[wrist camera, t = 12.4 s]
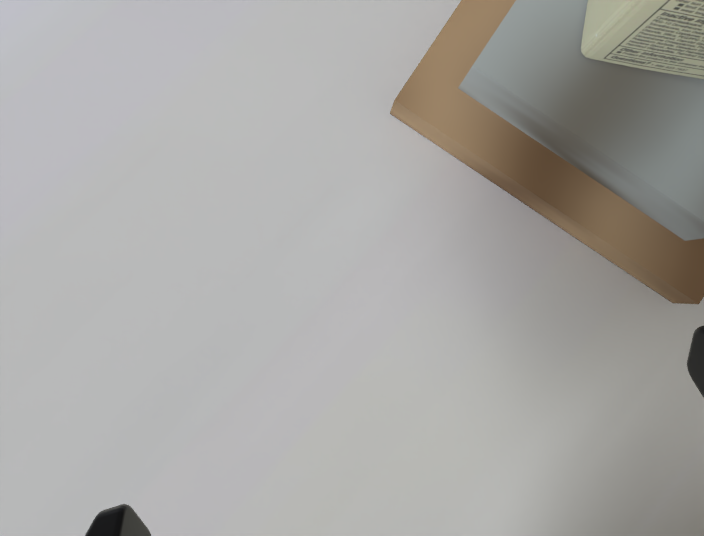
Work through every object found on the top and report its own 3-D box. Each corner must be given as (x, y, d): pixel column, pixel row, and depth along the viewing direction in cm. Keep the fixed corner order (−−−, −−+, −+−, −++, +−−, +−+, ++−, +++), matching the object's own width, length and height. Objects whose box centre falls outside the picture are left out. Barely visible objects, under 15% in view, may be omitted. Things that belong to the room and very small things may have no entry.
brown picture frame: (846, 26, 22) (945, -24, 18) (672, 302, 21) (740, 305, 18) (572, -160, 22) (620, -246, 18) (389, 113, 21) (401, 78, 18)
